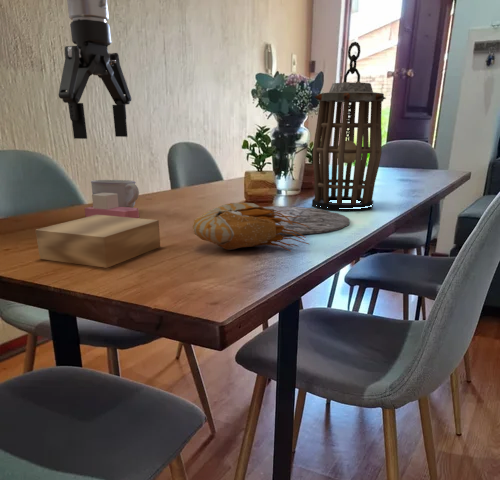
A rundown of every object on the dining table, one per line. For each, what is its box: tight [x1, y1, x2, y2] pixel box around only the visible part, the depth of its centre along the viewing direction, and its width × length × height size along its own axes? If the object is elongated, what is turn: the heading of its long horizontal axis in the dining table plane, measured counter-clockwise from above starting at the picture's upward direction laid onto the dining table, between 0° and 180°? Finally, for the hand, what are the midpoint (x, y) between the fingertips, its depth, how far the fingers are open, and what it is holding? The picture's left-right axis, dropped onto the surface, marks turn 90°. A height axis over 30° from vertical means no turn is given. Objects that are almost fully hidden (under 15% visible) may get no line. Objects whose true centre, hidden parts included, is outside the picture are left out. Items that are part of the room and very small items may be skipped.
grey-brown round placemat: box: [264, 205, 351, 237], centre depth 121 cm, size 33×35×1 cm
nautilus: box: [192, 202, 311, 252], centre depth 93 cm, size 8×22×15 cm
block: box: [35, 215, 161, 269], centre depth 90 cm, size 14×16×5 cm
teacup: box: [90, 179, 140, 208], centre depth 127 cm, size 14×11×8 cm
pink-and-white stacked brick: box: [84, 193, 140, 218], centre depth 114 cm, size 12×5×6 cm, turn 67°
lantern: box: [311, 41, 387, 213], centre depth 133 cm, size 19×19×40 cm
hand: (102, 137), depth 108 cm, fingers open, 13 cm apart
